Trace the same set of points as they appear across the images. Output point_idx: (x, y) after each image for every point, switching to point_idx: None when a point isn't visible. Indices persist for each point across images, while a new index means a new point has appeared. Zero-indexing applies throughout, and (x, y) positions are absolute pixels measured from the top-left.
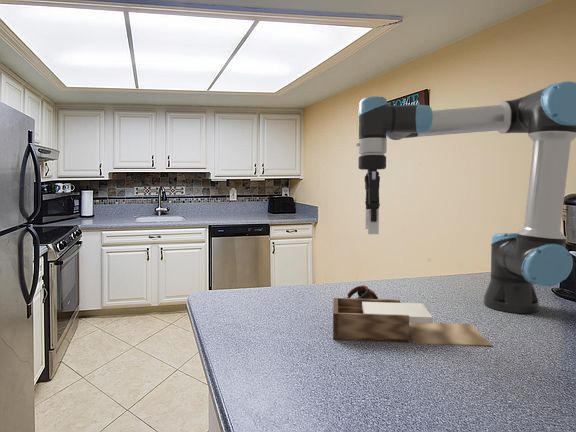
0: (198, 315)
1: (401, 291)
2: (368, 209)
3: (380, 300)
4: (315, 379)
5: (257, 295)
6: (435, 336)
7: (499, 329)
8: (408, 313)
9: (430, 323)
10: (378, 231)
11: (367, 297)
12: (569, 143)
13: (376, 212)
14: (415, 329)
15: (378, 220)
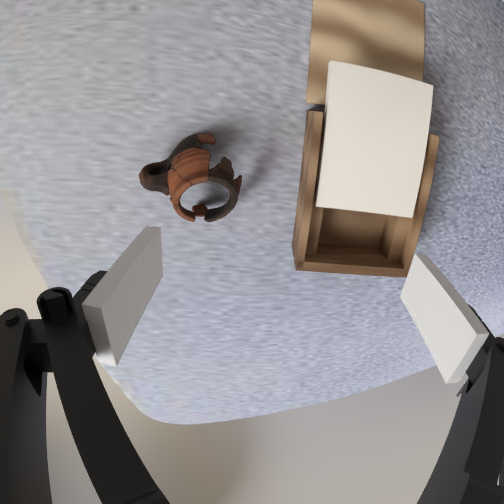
0: (262, 413)
1: (50, 76)
2: (455, 382)
3: (317, 161)
4: (484, 279)
5: (141, 360)
6: (392, 71)
7: None
8: (410, 124)
9: (315, 47)
10: (432, 262)
11: (231, 176)
12: None
13: (491, 334)
14: None
15: (458, 294)
